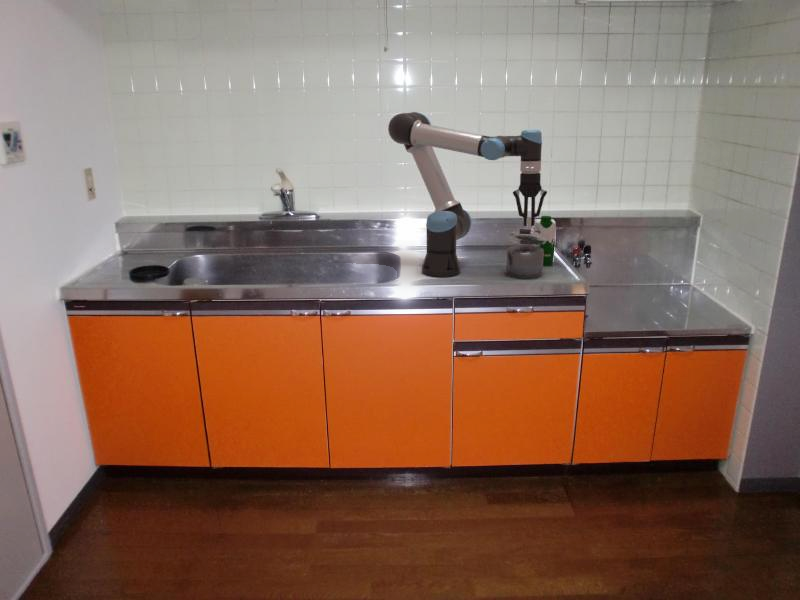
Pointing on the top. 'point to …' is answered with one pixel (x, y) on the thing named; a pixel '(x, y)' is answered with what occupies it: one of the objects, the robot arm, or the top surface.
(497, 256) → the top surface
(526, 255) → the cooker pot
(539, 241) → the cooker lid
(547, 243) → the milk carton
